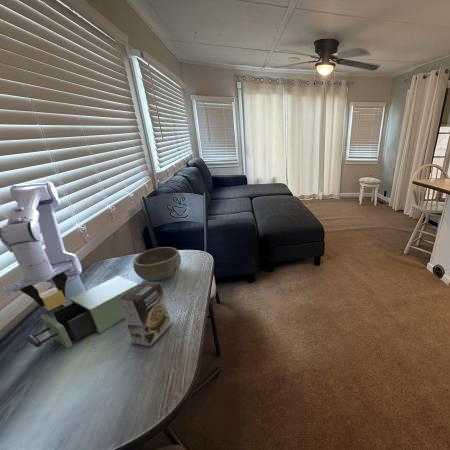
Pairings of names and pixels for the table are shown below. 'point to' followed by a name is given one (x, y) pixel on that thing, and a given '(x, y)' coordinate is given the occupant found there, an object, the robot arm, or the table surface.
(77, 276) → the robot arm
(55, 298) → the block
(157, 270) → the bowl
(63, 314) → the drawer
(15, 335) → the table surface
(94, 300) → the pale mint box
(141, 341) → the brown food box
